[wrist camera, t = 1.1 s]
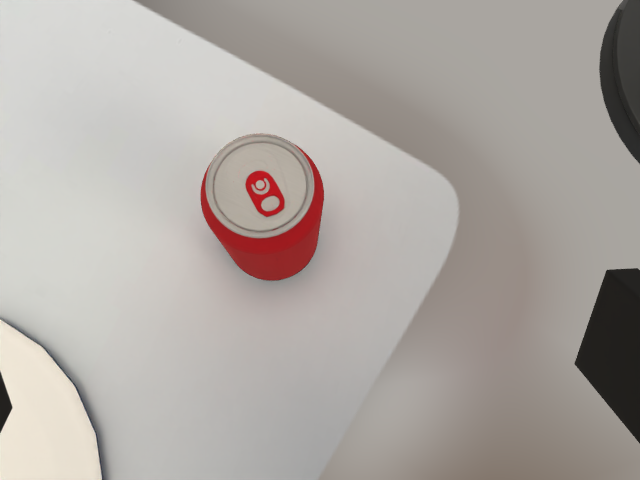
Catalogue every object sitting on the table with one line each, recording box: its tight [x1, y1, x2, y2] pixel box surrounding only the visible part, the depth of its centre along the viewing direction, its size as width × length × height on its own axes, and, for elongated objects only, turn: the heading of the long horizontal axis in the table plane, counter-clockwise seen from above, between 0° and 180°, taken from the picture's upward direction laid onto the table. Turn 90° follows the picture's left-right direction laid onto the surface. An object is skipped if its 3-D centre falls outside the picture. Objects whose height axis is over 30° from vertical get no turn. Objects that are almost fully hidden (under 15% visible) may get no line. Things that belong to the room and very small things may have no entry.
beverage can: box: [201, 134, 324, 280], centre depth 31 cm, size 6×6×12 cm
